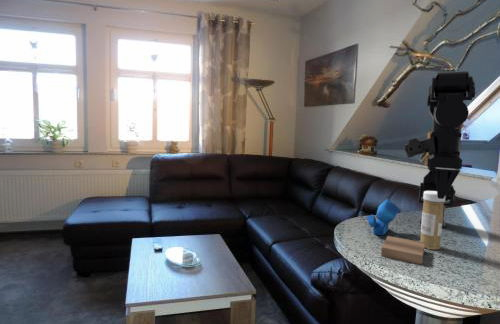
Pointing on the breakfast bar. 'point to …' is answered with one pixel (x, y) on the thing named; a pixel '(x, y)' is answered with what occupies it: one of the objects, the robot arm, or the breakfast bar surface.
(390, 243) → the wooden block
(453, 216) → the breakfast bar surface
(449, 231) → the breakfast bar surface
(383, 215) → the blue figurine
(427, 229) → the sprinkles bottle
